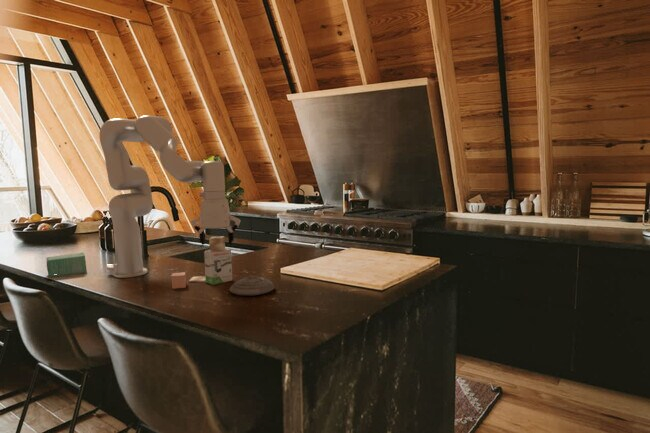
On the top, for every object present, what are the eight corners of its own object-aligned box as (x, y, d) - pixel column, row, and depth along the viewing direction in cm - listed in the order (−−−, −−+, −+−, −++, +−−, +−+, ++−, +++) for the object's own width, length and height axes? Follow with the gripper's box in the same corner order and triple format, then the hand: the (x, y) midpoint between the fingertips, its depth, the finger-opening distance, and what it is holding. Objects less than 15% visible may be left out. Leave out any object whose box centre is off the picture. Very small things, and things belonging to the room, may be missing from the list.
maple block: (209, 251, 166) (209, 238, 166) (212, 248, 171) (212, 236, 170) (222, 250, 166) (221, 238, 166) (225, 248, 171) (224, 236, 170)
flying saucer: (235, 286, 164) (234, 271, 163) (277, 285, 163) (277, 270, 163) (224, 299, 149) (223, 282, 148) (271, 298, 148) (270, 281, 148)
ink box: (212, 285, 165) (210, 252, 164) (205, 282, 169) (203, 250, 167) (233, 280, 171) (231, 248, 170) (225, 278, 175) (223, 247, 173)
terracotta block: (172, 288, 162) (171, 276, 161) (172, 285, 166) (172, 273, 166) (185, 287, 163) (185, 275, 163) (186, 284, 167) (185, 272, 167)
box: (47, 274, 187) (45, 256, 186) (85, 269, 194) (83, 252, 193) (48, 278, 181) (46, 259, 180) (87, 273, 188) (85, 255, 187)
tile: (188, 282, 170) (188, 280, 170) (193, 278, 176) (193, 276, 176) (205, 281, 170) (205, 280, 170) (209, 277, 176) (209, 276, 176)
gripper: (187, 197, 162) (190, 246, 164) (237, 196, 162) (239, 244, 164) (192, 195, 170) (195, 242, 172) (240, 194, 170) (242, 241, 172)
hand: (217, 243), depth 168 cm, fingers open, 9 cm apart
